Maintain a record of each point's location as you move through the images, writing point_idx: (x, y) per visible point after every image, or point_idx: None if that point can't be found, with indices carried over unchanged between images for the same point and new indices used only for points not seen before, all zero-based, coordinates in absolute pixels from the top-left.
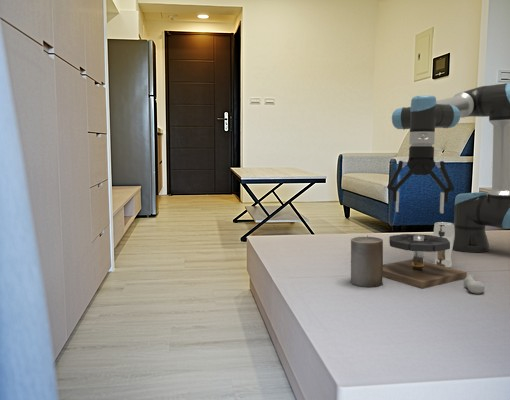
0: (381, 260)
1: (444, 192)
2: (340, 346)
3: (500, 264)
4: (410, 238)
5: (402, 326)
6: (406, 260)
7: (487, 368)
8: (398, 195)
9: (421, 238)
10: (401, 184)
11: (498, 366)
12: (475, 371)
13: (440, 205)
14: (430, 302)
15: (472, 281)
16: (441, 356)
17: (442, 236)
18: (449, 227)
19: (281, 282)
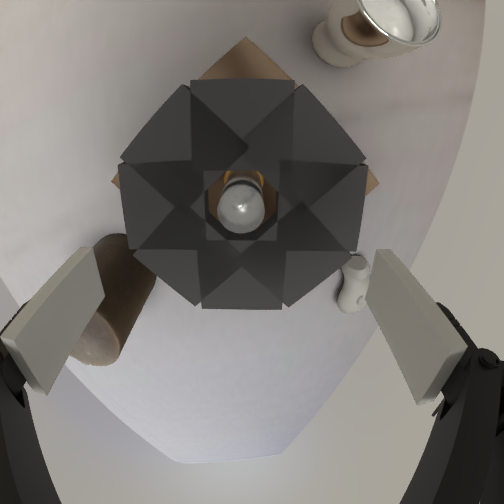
0: (137, 316)
1: (445, 390)
2: (159, 438)
3: (473, 45)
4: (206, 189)
5: (207, 415)
6: (217, 63)
7: (272, 450)
8: (56, 373)
9: (250, 228)
10: (36, 450)
11: (281, 448)
12: (262, 453)
13: (390, 298)
14: (249, 354)
15: (349, 308)
16: (241, 445)
17: (367, 51)
18: (414, 48)
19: (11, 287)
